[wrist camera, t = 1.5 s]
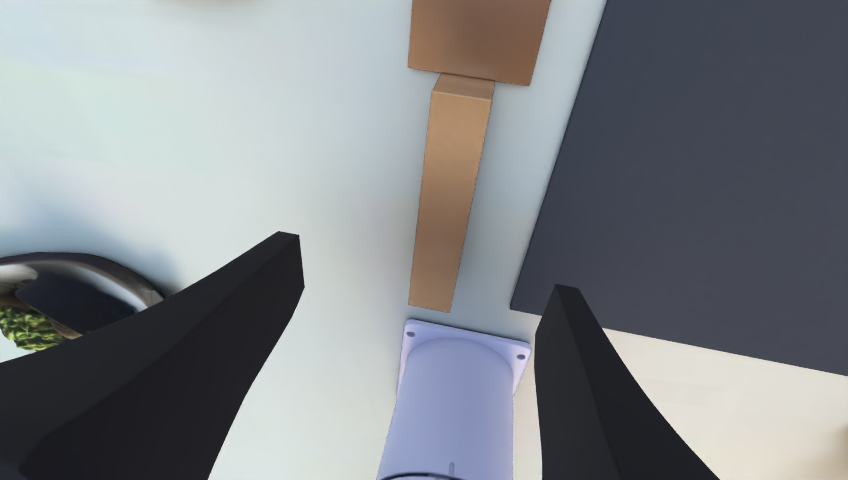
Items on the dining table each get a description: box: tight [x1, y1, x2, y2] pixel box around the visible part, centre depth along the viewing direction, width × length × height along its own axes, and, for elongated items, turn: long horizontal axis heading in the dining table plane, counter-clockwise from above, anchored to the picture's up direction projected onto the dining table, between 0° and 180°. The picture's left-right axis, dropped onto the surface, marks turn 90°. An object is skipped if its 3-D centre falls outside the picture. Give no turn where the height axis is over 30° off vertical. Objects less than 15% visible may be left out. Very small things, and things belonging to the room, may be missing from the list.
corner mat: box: [510, 0, 848, 376], centre depth 18 cm, size 19×20×1 cm
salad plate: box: [0, 252, 165, 353], centre depth 32 cm, size 19×18×5 cm
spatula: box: [408, 0, 551, 313], centre depth 17 cm, size 18×5×3 cm, turn 174°
